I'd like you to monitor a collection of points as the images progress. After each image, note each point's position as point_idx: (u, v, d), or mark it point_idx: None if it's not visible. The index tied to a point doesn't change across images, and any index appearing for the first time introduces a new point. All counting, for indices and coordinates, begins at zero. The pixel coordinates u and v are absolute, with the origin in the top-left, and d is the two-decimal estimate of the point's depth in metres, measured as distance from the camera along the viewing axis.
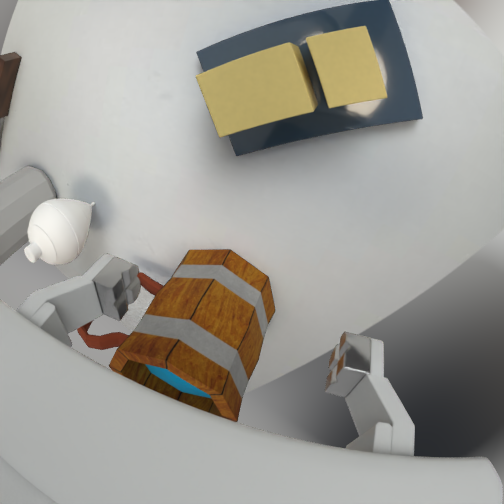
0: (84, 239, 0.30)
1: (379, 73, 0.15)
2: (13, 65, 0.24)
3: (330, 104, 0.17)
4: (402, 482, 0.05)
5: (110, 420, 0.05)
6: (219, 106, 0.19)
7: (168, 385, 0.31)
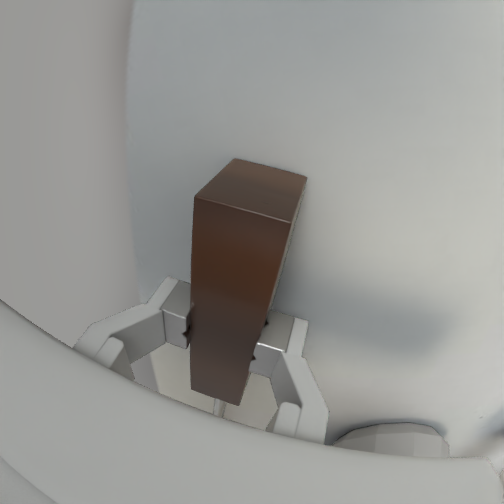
0: None
1: None
2: None
3: None
4: (402, 482, 0.05)
5: (110, 420, 0.05)
6: None
7: None
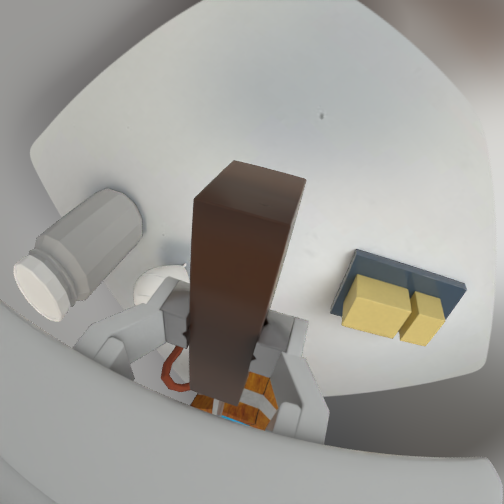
0: None
1: (431, 338, 0.32)
2: None
3: (401, 339, 0.33)
4: (402, 482, 0.05)
5: (110, 420, 0.05)
6: (355, 315, 0.33)
7: None
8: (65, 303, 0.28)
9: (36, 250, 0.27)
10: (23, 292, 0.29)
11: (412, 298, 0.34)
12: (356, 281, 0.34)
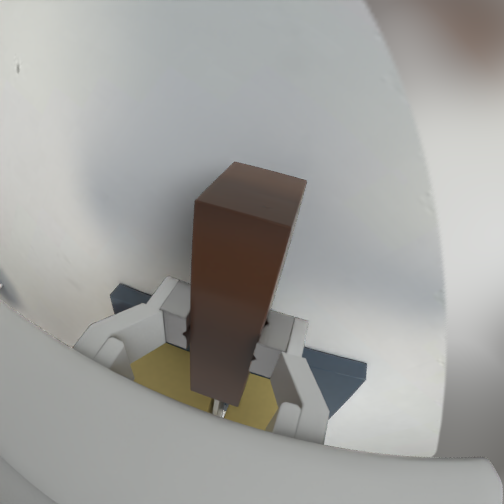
0: None
1: None
2: (294, 226, 0.09)
3: None
4: (402, 482, 0.05)
5: (110, 420, 0.05)
6: None
7: None
8: None
9: None
10: None
11: None
12: None
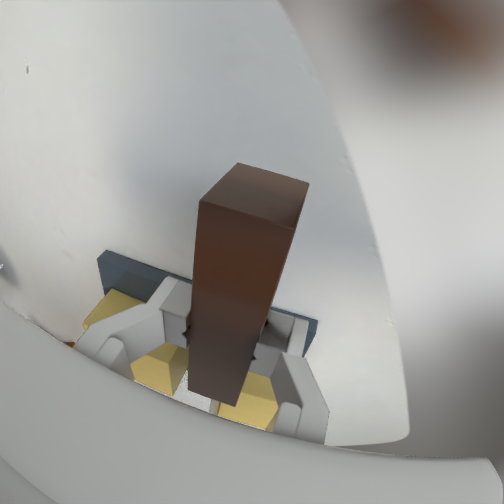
0: None
1: None
2: None
3: (219, 415, 0.20)
4: (402, 482, 0.05)
5: (110, 421, 0.05)
6: None
7: None
8: None
9: None
10: None
11: None
12: None
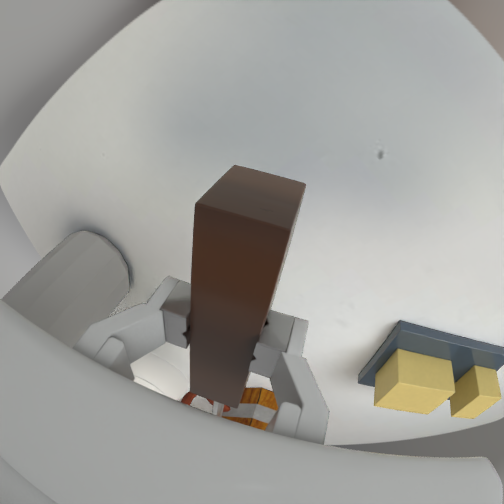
0: None
1: None
2: None
3: (453, 416, 0.24)
4: (402, 482, 0.05)
5: (110, 420, 0.05)
6: (391, 398, 0.24)
7: None
8: None
9: None
10: None
11: (470, 372, 0.25)
12: (396, 359, 0.25)
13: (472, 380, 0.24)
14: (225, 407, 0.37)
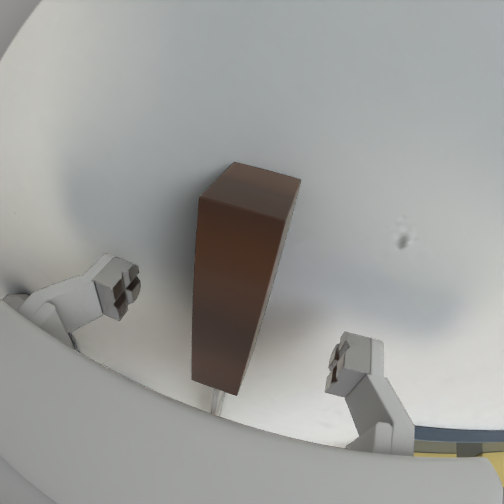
0: None
1: None
2: (289, 221, 0.10)
3: None
4: (402, 482, 0.05)
5: (110, 420, 0.05)
6: None
7: None
8: None
9: None
10: None
11: None
12: None
13: None
14: None
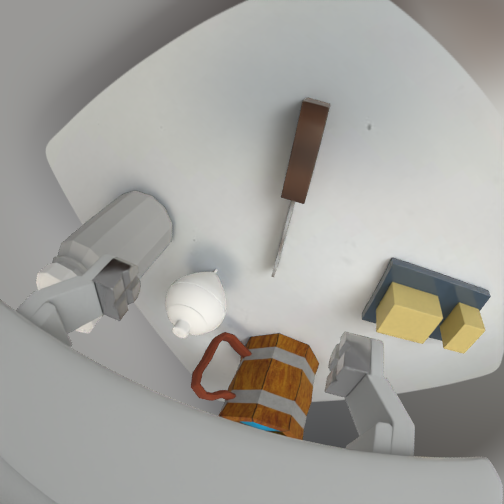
0: None
1: (470, 346, 0.31)
2: None
3: (445, 347, 0.32)
4: (403, 482, 0.05)
5: (110, 420, 0.05)
6: (390, 322, 0.32)
7: None
8: None
9: (63, 257, 0.27)
10: None
11: (456, 309, 0.33)
12: (392, 289, 0.33)
13: (458, 314, 0.32)
14: (247, 352, 0.46)
